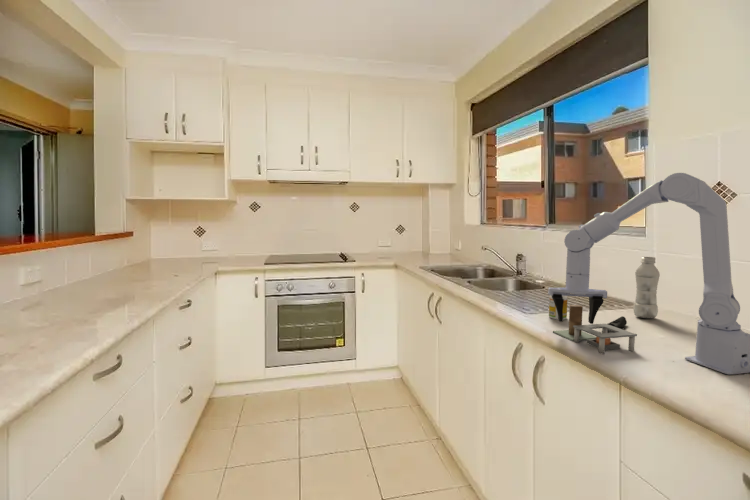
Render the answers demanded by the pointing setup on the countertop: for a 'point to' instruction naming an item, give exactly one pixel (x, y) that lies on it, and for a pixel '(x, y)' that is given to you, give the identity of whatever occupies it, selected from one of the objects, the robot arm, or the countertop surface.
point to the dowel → (575, 318)
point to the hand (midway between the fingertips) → (575, 321)
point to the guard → (604, 336)
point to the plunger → (607, 340)
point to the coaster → (566, 334)
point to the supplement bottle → (553, 310)
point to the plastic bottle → (646, 289)
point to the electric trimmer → (618, 324)
